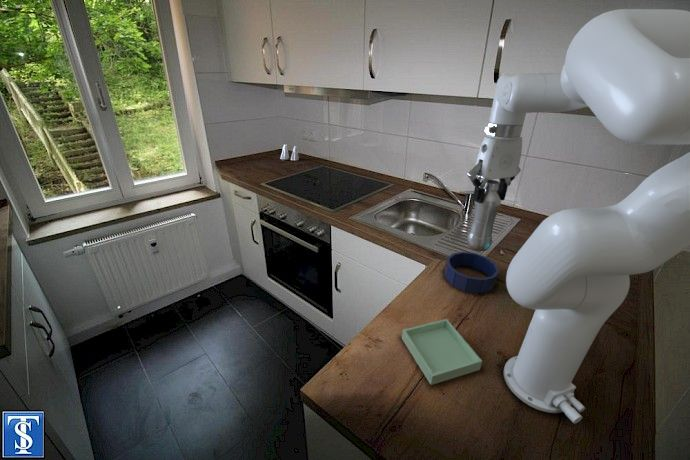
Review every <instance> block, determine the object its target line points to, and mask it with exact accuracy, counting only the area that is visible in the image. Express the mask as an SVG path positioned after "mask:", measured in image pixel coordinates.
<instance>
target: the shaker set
mask: <svg viewBox="0 0 690 460" xmlns="http://www.w3.org/2000/svg"><path fill="white" fill-rule="evenodd" d="M291 152H292V153H291V156H289V148H288V144H287V143H285V144H283V147H282V151H281V155H280V160H281V161H288V160H289V159H290V161H294V162H296V161H299V160H300V159H299V158H300V157H299V149H298V145H294V146H293V148H292V151H291Z"/></svg>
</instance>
